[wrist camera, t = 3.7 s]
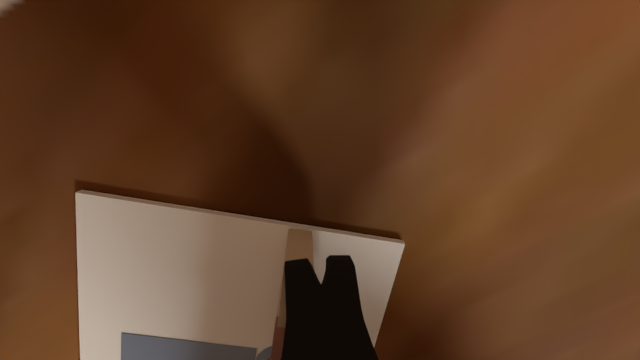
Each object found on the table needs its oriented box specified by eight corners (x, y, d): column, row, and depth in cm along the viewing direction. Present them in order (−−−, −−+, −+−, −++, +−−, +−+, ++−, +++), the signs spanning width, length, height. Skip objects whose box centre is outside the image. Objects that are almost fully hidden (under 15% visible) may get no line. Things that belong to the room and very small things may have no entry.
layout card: (339, 453, 15) (340, 461, 14) (87, 431, 14) (81, 439, 13) (402, 239, 12) (405, 244, 11) (81, 189, 10) (74, 193, 10)
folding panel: (294, 349, 12) (288, 510, 8) (271, 347, 12) (250, 508, 8) (313, 231, 11) (320, 342, 6) (287, 228, 11) (273, 338, 6)
